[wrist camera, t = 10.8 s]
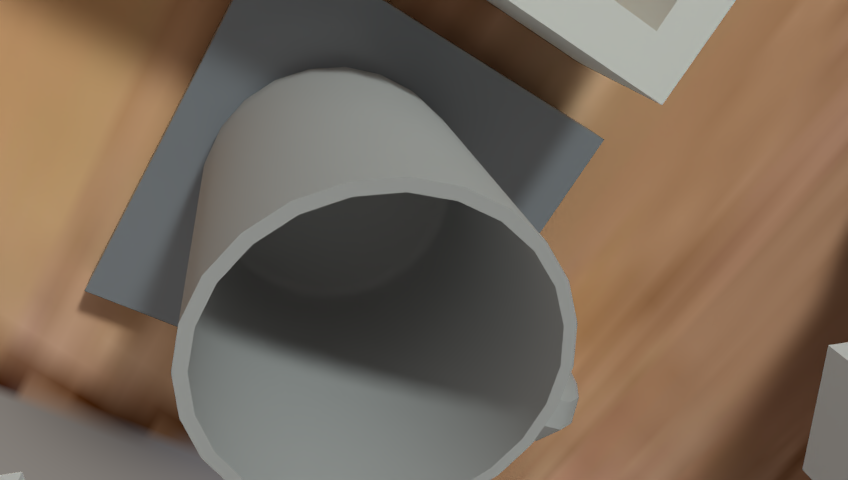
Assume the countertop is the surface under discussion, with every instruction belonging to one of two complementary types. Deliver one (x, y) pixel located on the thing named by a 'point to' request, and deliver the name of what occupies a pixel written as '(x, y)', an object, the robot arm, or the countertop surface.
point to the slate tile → (328, 48)
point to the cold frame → (625, 35)
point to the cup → (364, 296)
